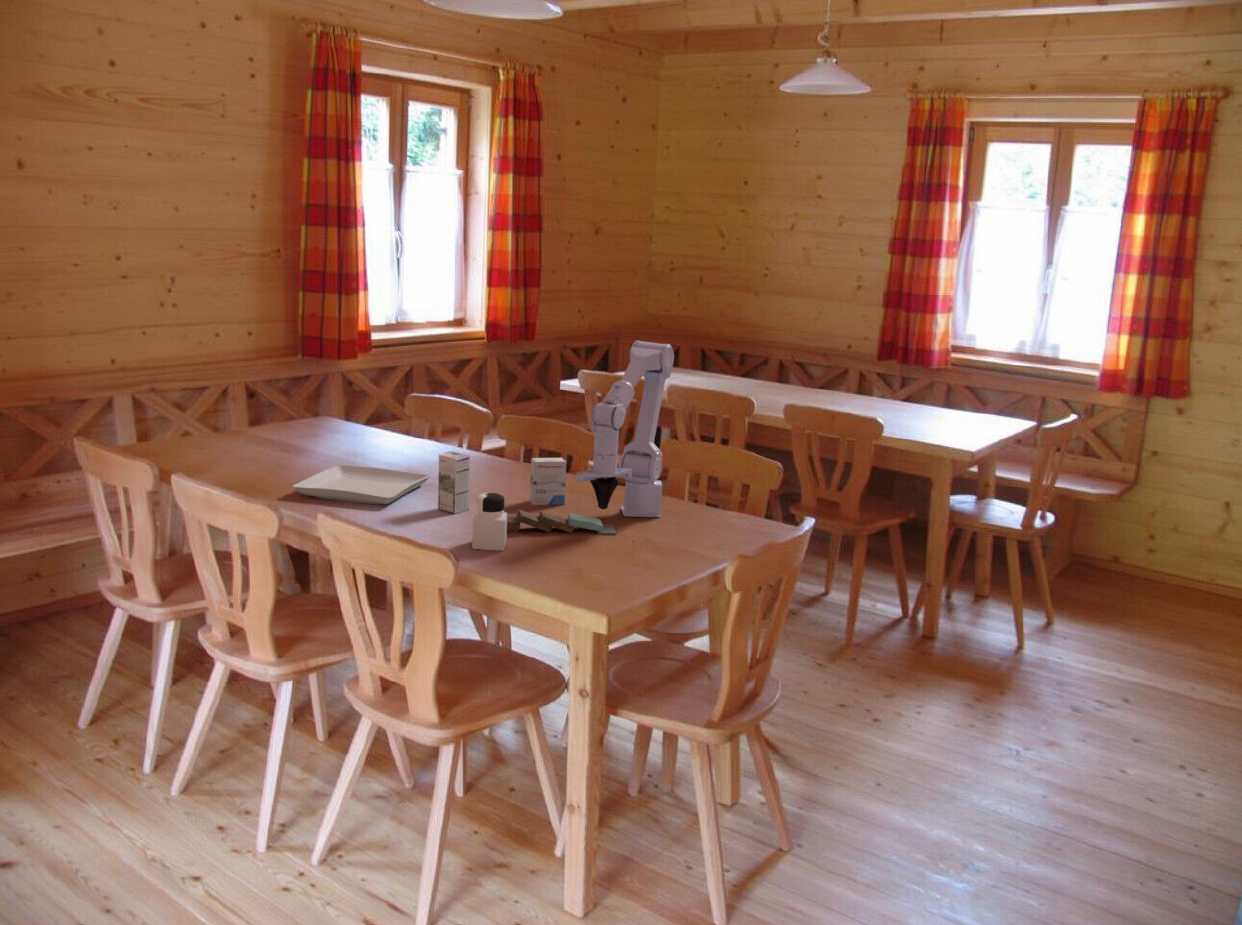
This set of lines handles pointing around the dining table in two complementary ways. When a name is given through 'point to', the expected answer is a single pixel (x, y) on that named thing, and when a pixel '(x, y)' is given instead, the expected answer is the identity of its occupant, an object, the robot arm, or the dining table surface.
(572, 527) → the domino
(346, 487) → the square plate
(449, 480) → the syrup box
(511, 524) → the domino
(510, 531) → the domino
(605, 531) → the slot pad
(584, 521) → the teal tile
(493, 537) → the medicine bottle
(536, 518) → the domino
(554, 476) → the ink box
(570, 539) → the dining table surface
